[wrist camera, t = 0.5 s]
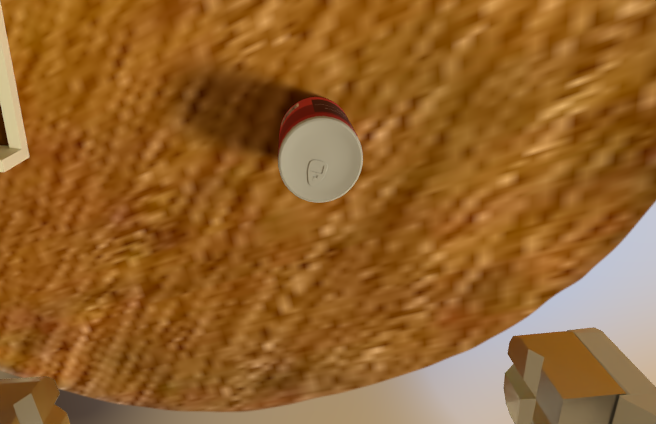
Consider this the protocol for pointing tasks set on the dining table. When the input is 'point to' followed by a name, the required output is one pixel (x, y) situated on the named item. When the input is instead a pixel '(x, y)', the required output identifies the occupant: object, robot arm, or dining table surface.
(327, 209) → the dining table surface
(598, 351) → the robot arm
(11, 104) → the frame
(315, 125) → the canned food
